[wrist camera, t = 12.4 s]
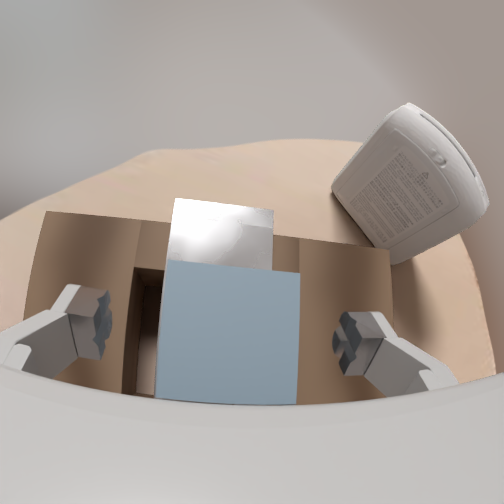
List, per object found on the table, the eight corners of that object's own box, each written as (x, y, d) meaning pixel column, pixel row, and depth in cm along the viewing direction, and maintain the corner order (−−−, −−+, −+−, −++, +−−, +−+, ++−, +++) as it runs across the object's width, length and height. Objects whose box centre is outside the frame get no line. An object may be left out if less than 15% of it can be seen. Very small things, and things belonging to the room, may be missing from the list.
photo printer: (414, 249, 28) (507, 194, 16) (391, 275, 27) (493, 222, 15) (349, 168, 29) (417, 84, 18) (321, 187, 28) (390, 95, 16)
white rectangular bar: (159, 442, 17) (152, 460, 13) (177, 224, 22) (175, 198, 18) (249, 447, 18) (262, 466, 14) (259, 234, 23) (273, 210, 19)
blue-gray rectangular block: (166, 381, 15) (144, 406, 8) (173, 297, 16) (159, 248, 9) (252, 388, 16) (305, 413, 8) (257, 305, 17) (309, 264, 10)
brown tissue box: (49, 412, 17) (18, 422, 13) (69, 237, 22) (46, 211, 17) (354, 432, 21) (388, 444, 17) (356, 268, 26) (388, 249, 21)
